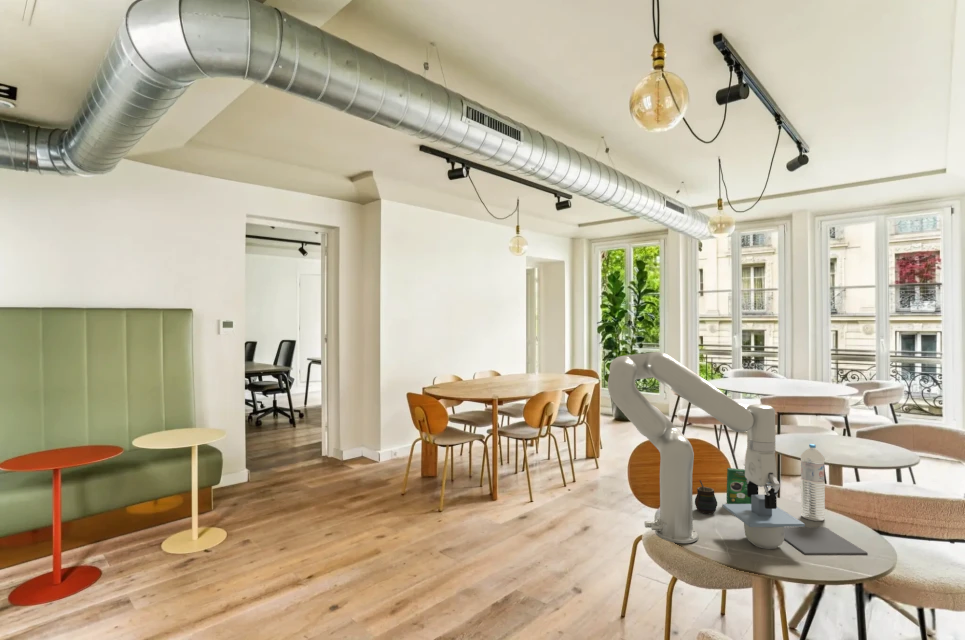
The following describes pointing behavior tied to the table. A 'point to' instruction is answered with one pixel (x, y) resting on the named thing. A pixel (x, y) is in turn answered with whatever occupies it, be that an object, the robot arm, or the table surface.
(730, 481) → the coffee box
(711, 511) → the mate gourd
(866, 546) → the table surface
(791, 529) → the mat
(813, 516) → the water bottle
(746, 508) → the lid
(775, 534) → the teacup
